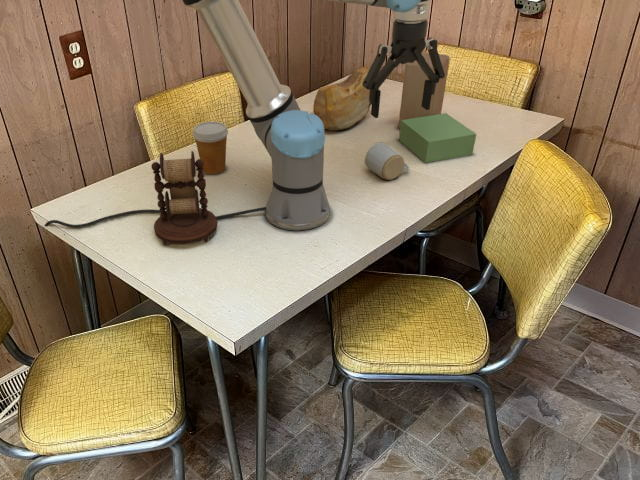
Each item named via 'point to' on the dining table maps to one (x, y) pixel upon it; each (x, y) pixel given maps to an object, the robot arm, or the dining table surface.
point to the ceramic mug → (385, 161)
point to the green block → (437, 137)
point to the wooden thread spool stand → (182, 202)
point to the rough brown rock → (343, 102)
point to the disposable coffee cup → (211, 145)
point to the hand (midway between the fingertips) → (400, 112)
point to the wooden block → (421, 90)
